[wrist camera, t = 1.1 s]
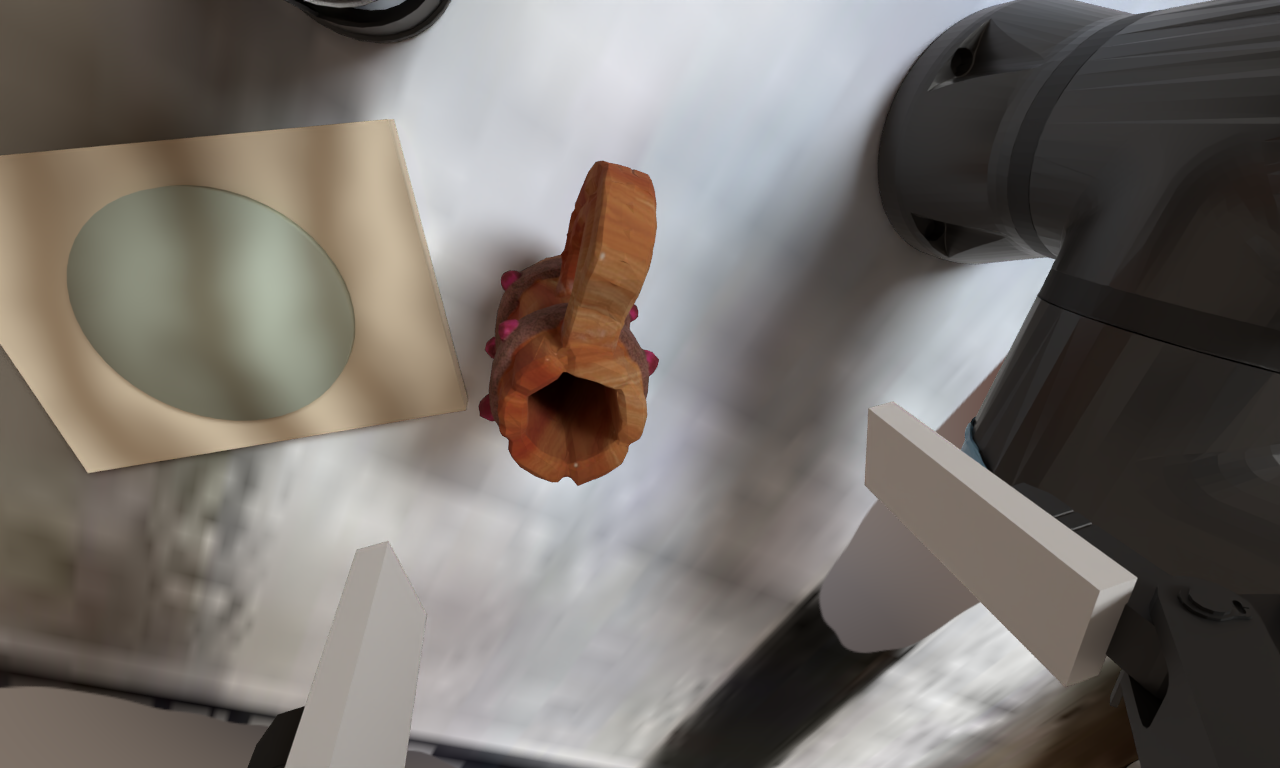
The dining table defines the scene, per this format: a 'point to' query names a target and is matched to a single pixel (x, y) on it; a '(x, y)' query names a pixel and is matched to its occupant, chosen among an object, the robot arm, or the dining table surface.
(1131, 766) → the teacup
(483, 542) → the dining table surface
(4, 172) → the serving board
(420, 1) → the french press
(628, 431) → the mug
